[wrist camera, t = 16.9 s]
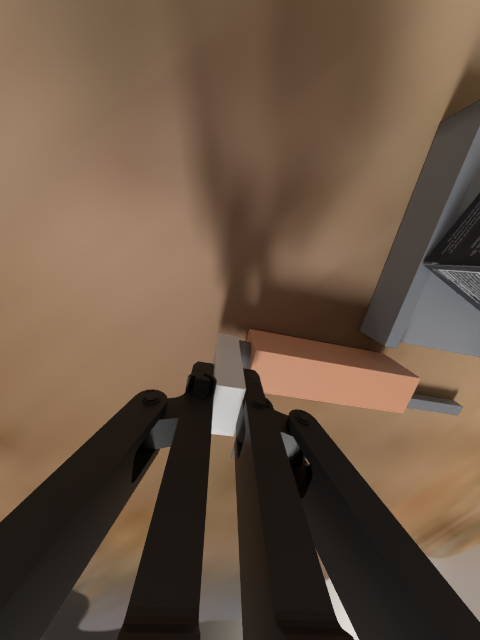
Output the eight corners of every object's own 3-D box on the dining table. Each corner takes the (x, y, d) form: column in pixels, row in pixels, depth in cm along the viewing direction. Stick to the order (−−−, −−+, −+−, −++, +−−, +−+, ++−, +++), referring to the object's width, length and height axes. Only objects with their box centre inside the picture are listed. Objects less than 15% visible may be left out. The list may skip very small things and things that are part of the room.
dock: (336, 391, 21) (354, 415, 18) (440, 121, 15) (494, 91, 12) (448, 408, 23) (482, 433, 20) (582, 170, 17) (661, 153, 14)
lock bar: (229, 360, 19) (231, 388, 15) (236, 326, 18) (240, 347, 15) (370, 383, 21) (403, 413, 17) (383, 353, 20) (420, 378, 16)
